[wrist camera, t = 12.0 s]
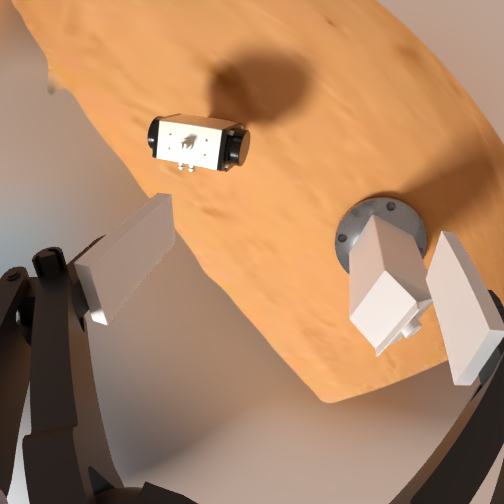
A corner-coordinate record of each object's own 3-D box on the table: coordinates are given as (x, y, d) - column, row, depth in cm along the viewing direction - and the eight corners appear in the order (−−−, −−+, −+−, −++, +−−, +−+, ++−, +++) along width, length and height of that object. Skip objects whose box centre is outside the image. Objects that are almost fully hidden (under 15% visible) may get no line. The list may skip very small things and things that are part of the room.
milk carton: (348, 252, 46) (348, 344, 30) (372, 212, 42) (389, 294, 26) (387, 272, 46) (402, 366, 30) (413, 235, 42) (445, 322, 26)
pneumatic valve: (184, 108, 43) (139, 119, 33) (262, 121, 41) (237, 134, 31) (180, 144, 46) (137, 164, 36) (256, 159, 44) (229, 184, 34)
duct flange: (343, 188, 43) (343, 191, 42) (435, 205, 40) (437, 208, 39) (328, 273, 50) (328, 277, 49) (411, 286, 47) (412, 290, 46)
